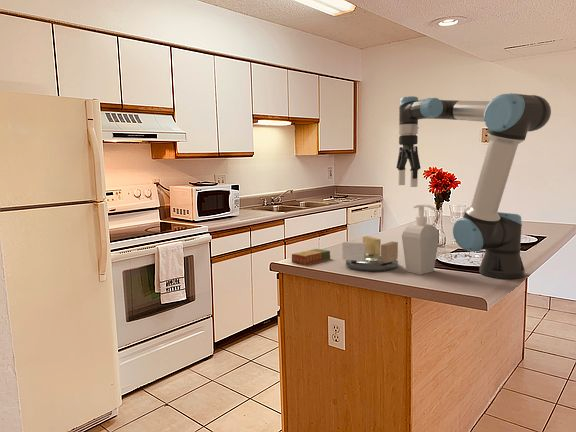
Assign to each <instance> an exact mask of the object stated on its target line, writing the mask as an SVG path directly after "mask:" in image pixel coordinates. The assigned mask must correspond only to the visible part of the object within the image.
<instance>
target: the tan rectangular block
mask: <svg viewBox="0 0 576 432" xmlns="http://www.w3.org/2000/svg"><path fill="white" fill-rule="evenodd" d="M398 244H399V242H398V241H389V242H386V243H383V244H380V256H381V262H384V263H392V261H393V260H398V256H399V255H398V254H399V249H398V248H399V247H398V246H399V245H398Z"/></svg>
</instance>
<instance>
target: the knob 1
mask: <svg viewBox="0 0 576 432" xmlns="http://www.w3.org/2000/svg"><path fill="white" fill-rule="evenodd" d="M341 244H342V245H341V246H342V250H341V251H342V260H345V261H346V260H351V262H357V261H365V260H366V255H367V253H366V243H363V242H354V241H353V242H352V241H343V242H342V243H341Z"/></svg>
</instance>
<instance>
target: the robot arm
mask: <svg viewBox="0 0 576 432" xmlns="http://www.w3.org/2000/svg"><path fill="white" fill-rule="evenodd" d="M398 109H399V114H398V116H399V119H398V121H399V123H398V134H399V137H398V144H399V145H400V147H399V151H398V158H397V163H396V169H397V170H398V181H397V183H398V184H397V186H405V185H406V171H407V170H406V165H407V162H408V163H409V166H410V169H409V170H410V171H409V172H410V177H409V178H410V179H409V180H410V181H409V182H410V183H409V185H410V188H417V187H418V178H419V177H418V176H419V174H418V172H419V170H421V165H420V164H421V162H420V157H419V151H418V150H419V149H418V146H417V144H418V140H419V139H418V138H419V137H418V135H417V134H418V132H419V125H418V123H419V120H423V119H425V120H426V119H429V120H430V119H433V120H453V121H455V120H456V121H470V122H482V123H483V122H484V124H485V126H486V128H487V131H486V135H487V136H488V138H489V141H488V146H487V149H486V152H485V156H484V160H483V163H482V167H481V170H480V173H479V177H478V181H477V185H476V188H475V191H474V195H473V199H472V202H471V205H470V206H469V207H466V208H465V210H464V212H463V213H464V214H463V218H459V219H458V220H456V221H455V222H454V224H453V227H452V234H453V235H452V236H453V239H454V240H455V243H456V245H458V247H460V248H461V249H462V250H463V251H466V252H478V251H481V250H482V251H483V250H485V251H484V254H483V257H482V260H481V262H480V265H479V274H480V275H483V276H486V277H489V278H495V279H504V280H505V279H506V280H507V279H508V280H512V279H513V280H516V279H521V278H524V277H525V273H526V272H525V271H526V270H525V267H524V264H523V261H522V257H521V243H522V241H521V240H522V226H523V224H522V216H521V215H520V214H518V213H510V212H509V213H508V212H500V211H499V208H500V204H501V201H502V198H503V195H504V192H505V188H506V184H507V182H508V178H509V176H510V172H511V169H512V166H513V163H514V158H515V155H516V153H517V149H518V147H519V144H521V143H523V142H524V141H526V138H527V135H528V132H534V131H538V130H540V129H542V128H543V127H544V126H546V124H547V123H548V122H549V120H550V118H551V115H552V108H551V106H550V103H549V101H548V100H546V98H544V97H542V96H539V95H536V94H522V93H512V92H510V93H502V94H499V95H497V96H495V97H494V98H492V99H491V100H458V99H457V100H454V99H453V100H449V99H447V100H446V99H439V98H438V97H428V98H424V99H420V100H419V97H418V96H414V95H413V96H411V95H410V96H404V97H403V96H402V97H401V98H400V99H399V107H398ZM415 145H416V146H415Z"/></svg>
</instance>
